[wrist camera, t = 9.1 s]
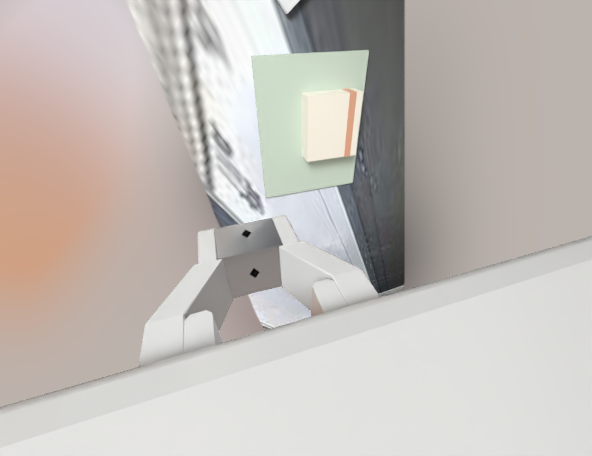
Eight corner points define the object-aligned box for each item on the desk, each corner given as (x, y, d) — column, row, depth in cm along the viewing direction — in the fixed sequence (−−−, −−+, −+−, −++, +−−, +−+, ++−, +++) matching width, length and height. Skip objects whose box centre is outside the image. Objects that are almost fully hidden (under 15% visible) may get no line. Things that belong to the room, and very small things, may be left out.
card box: (308, 96, 34) (363, 91, 36) (301, 92, 36) (354, 87, 38) (307, 162, 40) (355, 155, 42) (301, 155, 42) (348, 149, 44)
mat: (251, 55, 33) (251, 56, 32) (367, 49, 36) (369, 50, 36) (265, 196, 45) (266, 197, 44) (351, 181, 48) (352, 182, 48)
